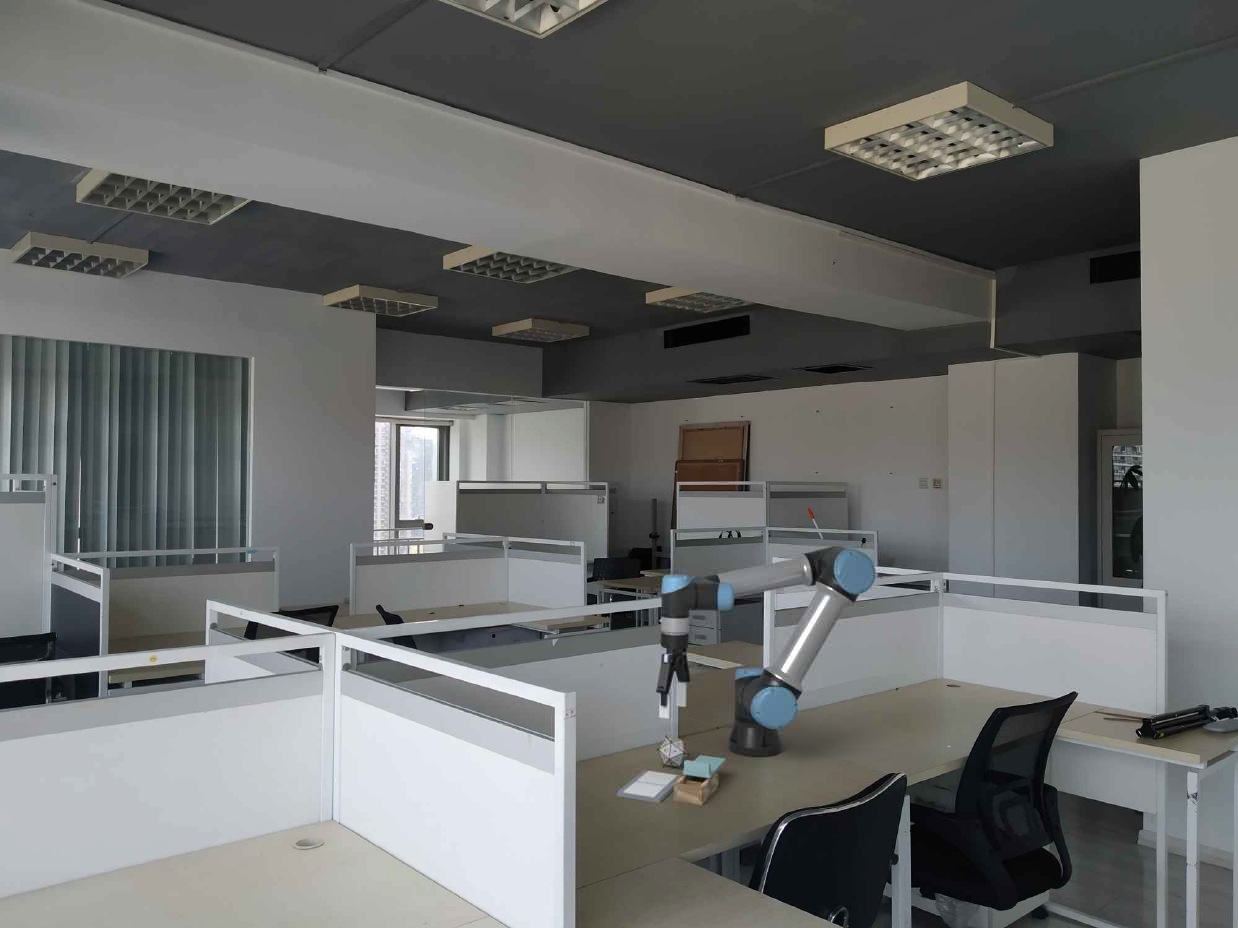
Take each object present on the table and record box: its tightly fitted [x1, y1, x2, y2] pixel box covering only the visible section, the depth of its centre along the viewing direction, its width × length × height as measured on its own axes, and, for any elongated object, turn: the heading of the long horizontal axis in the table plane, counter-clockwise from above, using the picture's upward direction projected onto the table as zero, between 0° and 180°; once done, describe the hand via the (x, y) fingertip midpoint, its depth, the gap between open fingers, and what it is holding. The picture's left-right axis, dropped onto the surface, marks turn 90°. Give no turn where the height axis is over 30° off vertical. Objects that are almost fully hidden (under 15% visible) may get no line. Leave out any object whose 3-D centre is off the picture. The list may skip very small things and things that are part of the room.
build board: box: [616, 769, 683, 804], centre depth 224 cm, size 18×11×1 cm, turn 157°
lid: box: [682, 754, 727, 778], centre depth 227 cm, size 14×7×3 cm, turn 157°
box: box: [673, 770, 719, 806], centre depth 220 cm, size 14×7×4 cm, turn 157°
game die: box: [655, 734, 692, 770], centre depth 241 cm, size 9×8×10 cm
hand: (673, 711), depth 241 cm, fingers open, 13 cm apart
